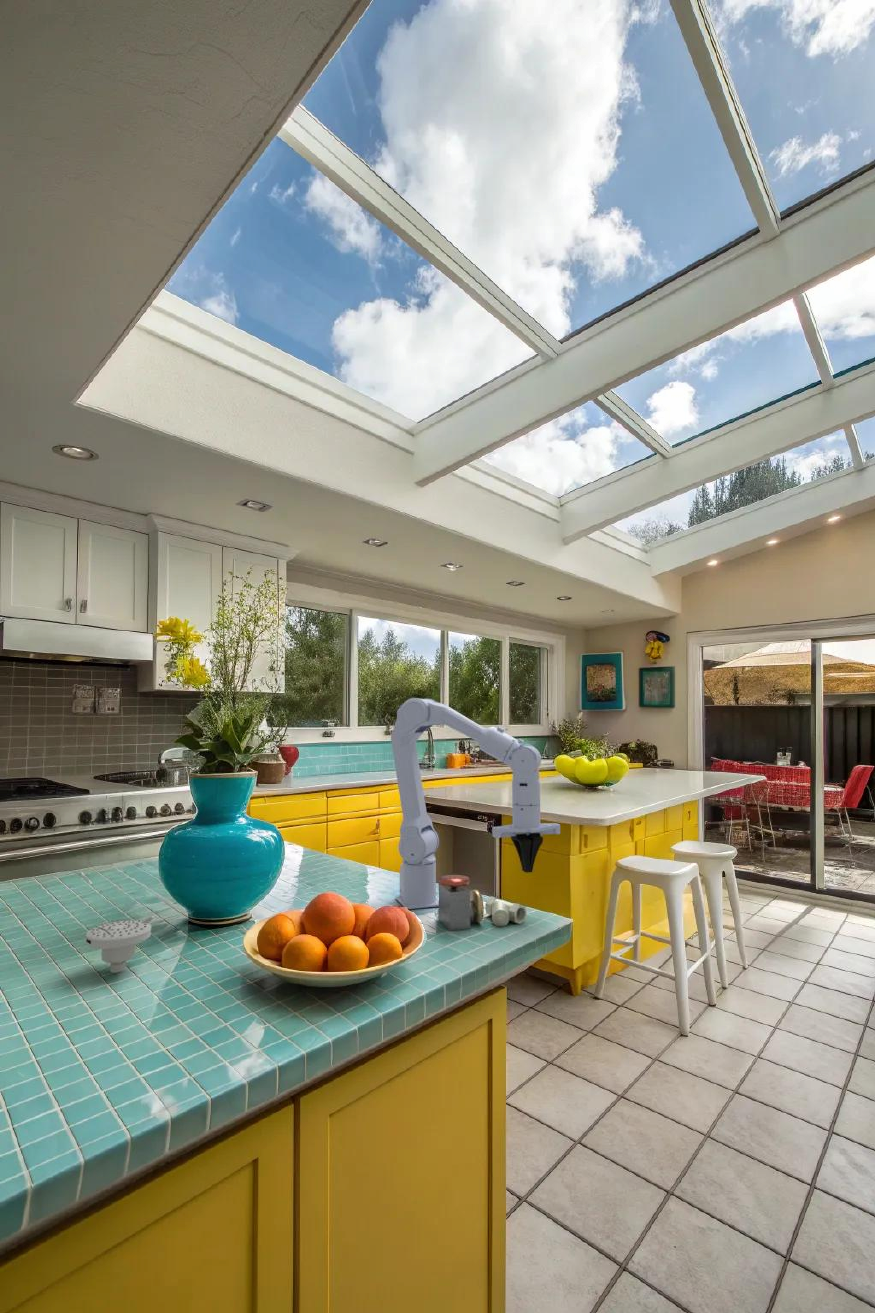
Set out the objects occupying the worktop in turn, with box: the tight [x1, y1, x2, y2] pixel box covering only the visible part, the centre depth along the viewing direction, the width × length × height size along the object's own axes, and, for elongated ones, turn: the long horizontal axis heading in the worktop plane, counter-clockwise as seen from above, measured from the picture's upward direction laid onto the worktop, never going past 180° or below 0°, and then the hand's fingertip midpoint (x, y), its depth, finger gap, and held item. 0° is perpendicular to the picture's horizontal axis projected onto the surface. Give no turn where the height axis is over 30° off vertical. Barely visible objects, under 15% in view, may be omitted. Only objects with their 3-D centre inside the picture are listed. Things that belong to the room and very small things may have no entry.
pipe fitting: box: [484, 896, 528, 927], centre depth 130 cm, size 8×4×7 cm
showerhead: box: [85, 916, 153, 974], centre depth 106 cm, size 9×7×10 cm
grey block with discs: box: [438, 874, 485, 931], centre depth 129 cm, size 7×8×9 cm
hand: (527, 871), depth 135 cm, fingers closed
